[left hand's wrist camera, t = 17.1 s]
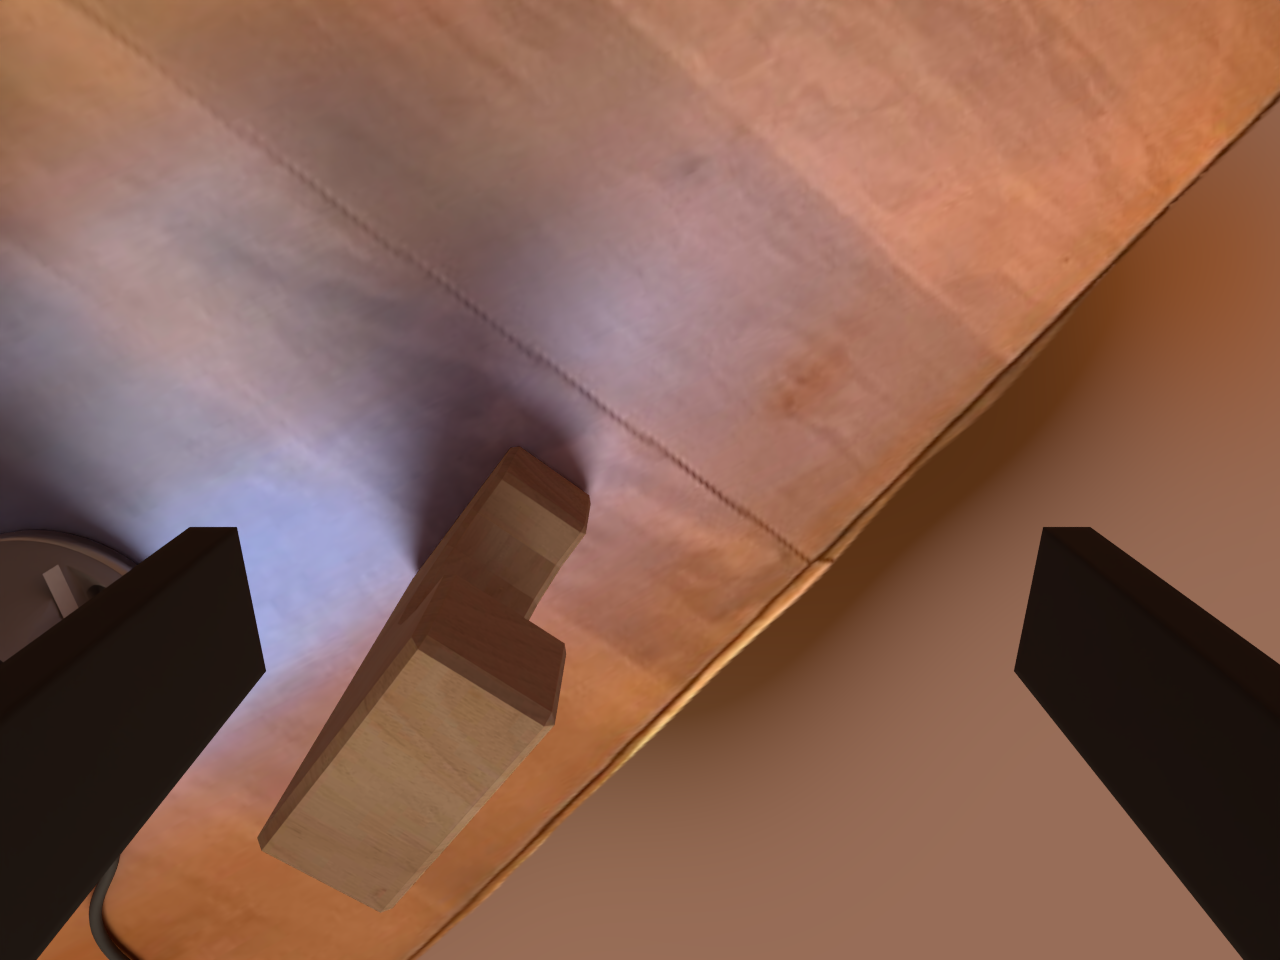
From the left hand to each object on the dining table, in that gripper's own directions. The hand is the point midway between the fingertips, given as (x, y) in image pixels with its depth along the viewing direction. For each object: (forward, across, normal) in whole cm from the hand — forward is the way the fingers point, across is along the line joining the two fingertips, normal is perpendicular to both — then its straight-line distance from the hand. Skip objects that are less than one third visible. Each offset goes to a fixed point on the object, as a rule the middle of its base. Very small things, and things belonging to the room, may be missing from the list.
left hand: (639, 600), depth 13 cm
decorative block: (+29, +8, +12) cm, 33 cm away
